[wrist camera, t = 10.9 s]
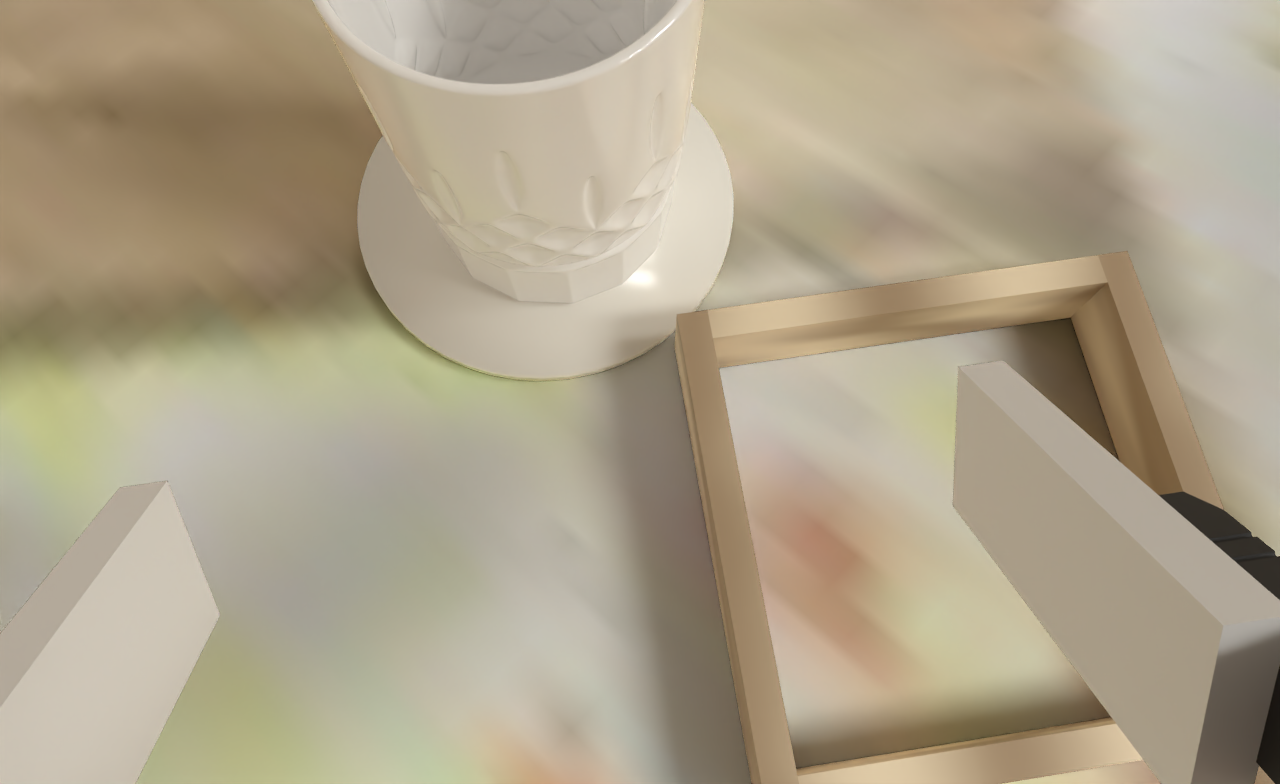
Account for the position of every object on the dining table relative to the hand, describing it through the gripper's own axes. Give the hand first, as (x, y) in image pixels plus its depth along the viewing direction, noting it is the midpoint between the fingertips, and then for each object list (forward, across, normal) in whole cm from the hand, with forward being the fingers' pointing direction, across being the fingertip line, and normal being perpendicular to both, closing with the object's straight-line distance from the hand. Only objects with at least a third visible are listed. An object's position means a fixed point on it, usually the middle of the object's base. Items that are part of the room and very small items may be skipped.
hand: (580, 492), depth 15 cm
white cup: (+14, 0, +2) cm, 14 cm away
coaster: (+14, 0, +2) cm, 14 cm away
